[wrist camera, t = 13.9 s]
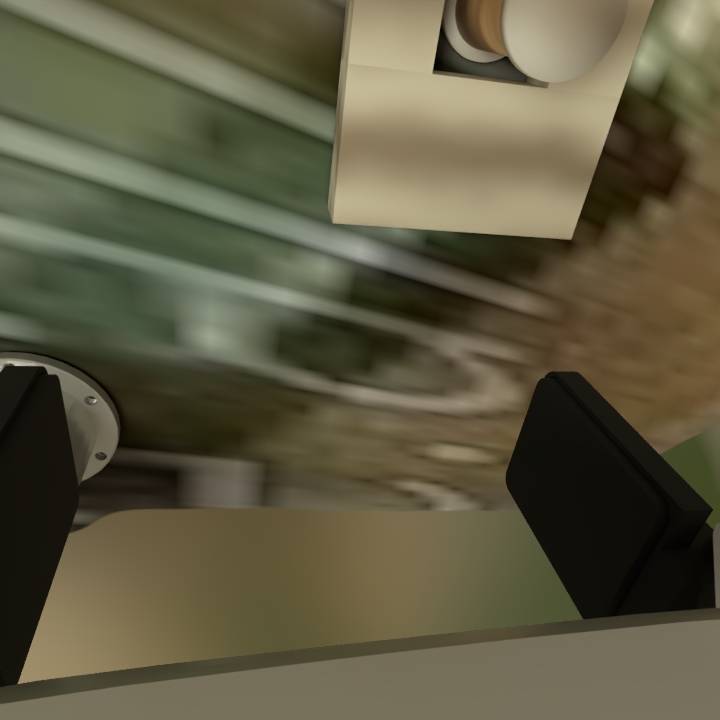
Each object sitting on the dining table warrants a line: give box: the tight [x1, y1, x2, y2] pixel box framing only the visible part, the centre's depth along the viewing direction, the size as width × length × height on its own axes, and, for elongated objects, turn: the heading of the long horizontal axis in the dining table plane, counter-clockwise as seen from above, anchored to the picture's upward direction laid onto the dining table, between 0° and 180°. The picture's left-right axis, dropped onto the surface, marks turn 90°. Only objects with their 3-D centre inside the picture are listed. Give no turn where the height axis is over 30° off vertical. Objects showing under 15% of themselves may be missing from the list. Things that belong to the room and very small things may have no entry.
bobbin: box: [441, 0, 629, 83], centre depth 26 cm, size 5×5×10 cm
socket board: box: [328, 0, 654, 240], centre depth 31 cm, size 18×16×3 cm
